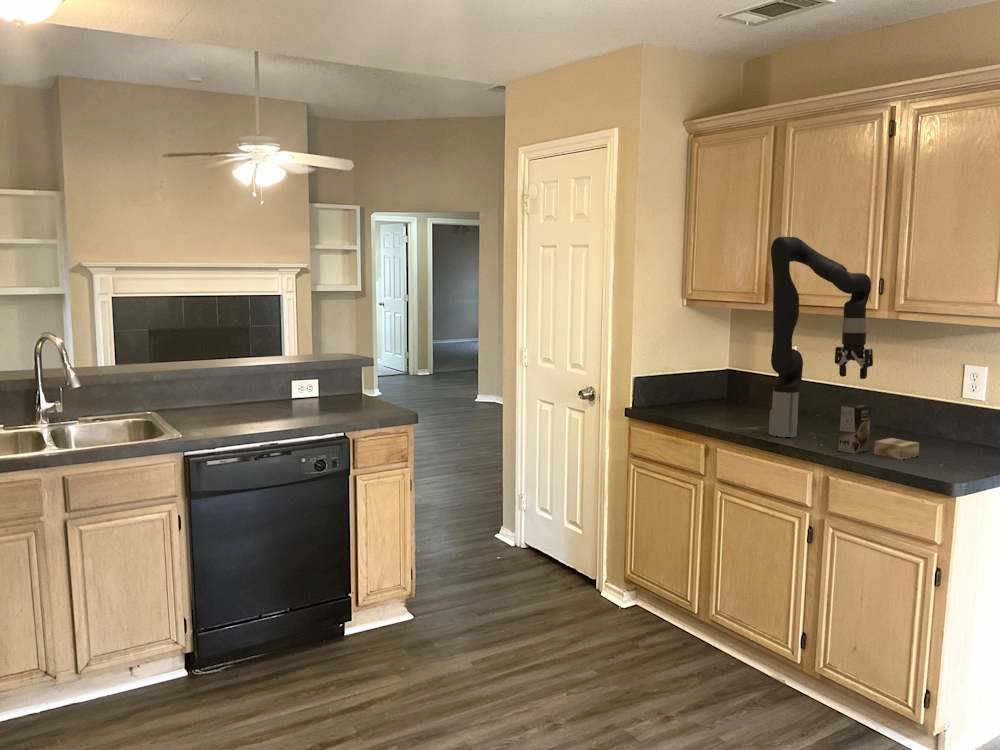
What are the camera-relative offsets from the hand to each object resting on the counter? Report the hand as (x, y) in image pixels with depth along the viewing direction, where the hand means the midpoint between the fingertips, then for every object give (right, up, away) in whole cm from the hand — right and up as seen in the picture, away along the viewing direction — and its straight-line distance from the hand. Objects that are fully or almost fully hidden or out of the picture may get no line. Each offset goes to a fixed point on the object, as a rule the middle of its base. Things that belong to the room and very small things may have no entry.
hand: (852, 377), depth 273 cm
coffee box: (+1, -26, +2) cm, 26 cm away
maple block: (+13, -27, -5) cm, 30 cm away
